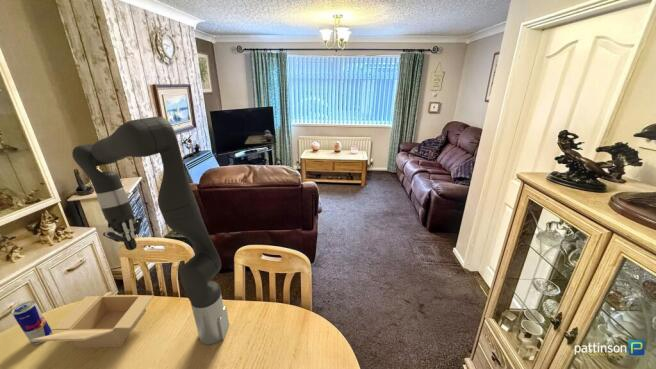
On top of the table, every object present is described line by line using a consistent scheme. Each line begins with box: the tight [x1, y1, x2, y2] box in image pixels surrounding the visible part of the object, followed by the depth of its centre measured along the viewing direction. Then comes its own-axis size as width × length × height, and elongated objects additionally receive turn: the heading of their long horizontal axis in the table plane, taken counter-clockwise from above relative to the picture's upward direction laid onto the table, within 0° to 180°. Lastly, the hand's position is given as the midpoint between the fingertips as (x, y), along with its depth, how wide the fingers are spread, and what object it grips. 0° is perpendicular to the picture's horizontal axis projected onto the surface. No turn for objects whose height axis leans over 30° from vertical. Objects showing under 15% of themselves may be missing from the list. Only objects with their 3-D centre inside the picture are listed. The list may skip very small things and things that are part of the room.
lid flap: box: [29, 330, 113, 343], centre depth 75 cm, size 14×11×1 cm
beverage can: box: [11, 300, 53, 345], centre depth 83 cm, size 5×5×15 cm
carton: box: [52, 294, 155, 348], centre depth 88 cm, size 24×14×8 cm, turn 93°
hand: (132, 249), depth 88 cm, fingers closed
